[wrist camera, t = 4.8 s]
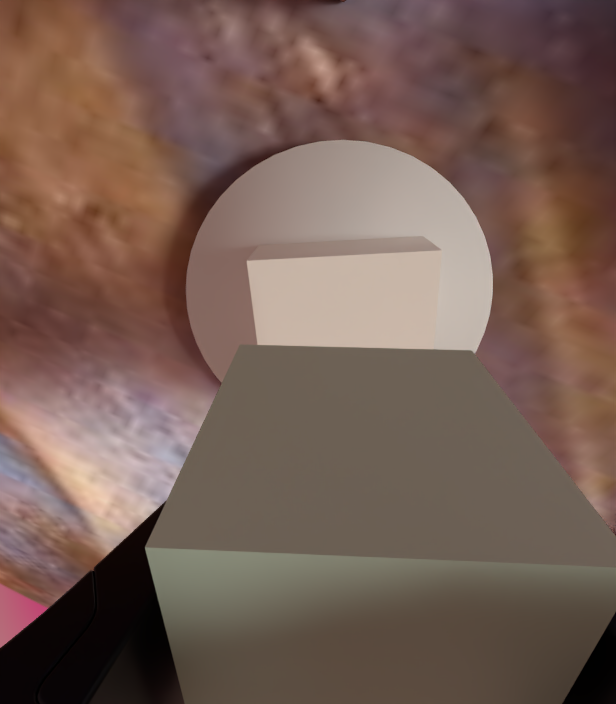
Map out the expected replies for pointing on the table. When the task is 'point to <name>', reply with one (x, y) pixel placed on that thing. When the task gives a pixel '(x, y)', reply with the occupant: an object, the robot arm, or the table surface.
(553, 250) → the table surface
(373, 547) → the green cube
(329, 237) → the white plate
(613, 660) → the robot arm
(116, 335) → the table surface
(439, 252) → the cream block
